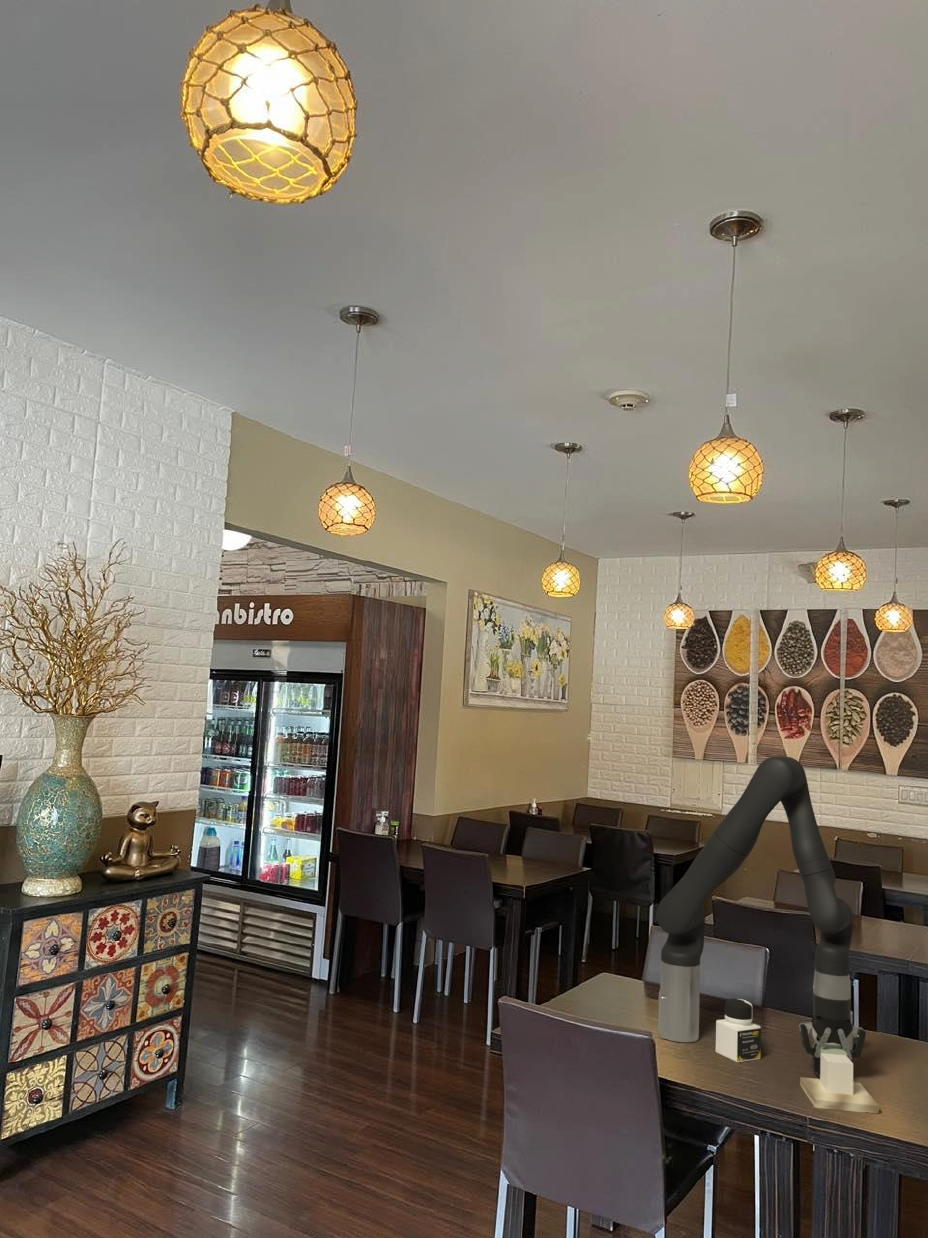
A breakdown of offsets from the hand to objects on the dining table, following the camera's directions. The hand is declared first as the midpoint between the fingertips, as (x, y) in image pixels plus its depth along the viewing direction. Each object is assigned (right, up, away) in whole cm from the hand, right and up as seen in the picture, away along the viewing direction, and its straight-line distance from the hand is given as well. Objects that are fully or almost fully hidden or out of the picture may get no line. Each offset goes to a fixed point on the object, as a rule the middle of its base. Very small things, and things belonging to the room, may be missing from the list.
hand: (831, 1075), depth 199 cm
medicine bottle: (-17, -1, +11) cm, 20 cm away
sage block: (0, -1, 0) cm, 1 cm away
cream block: (-3, +2, -11) cm, 11 cm away
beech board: (-3, +1, -12) cm, 12 cm away
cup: (+7, -3, +18) cm, 20 cm away
